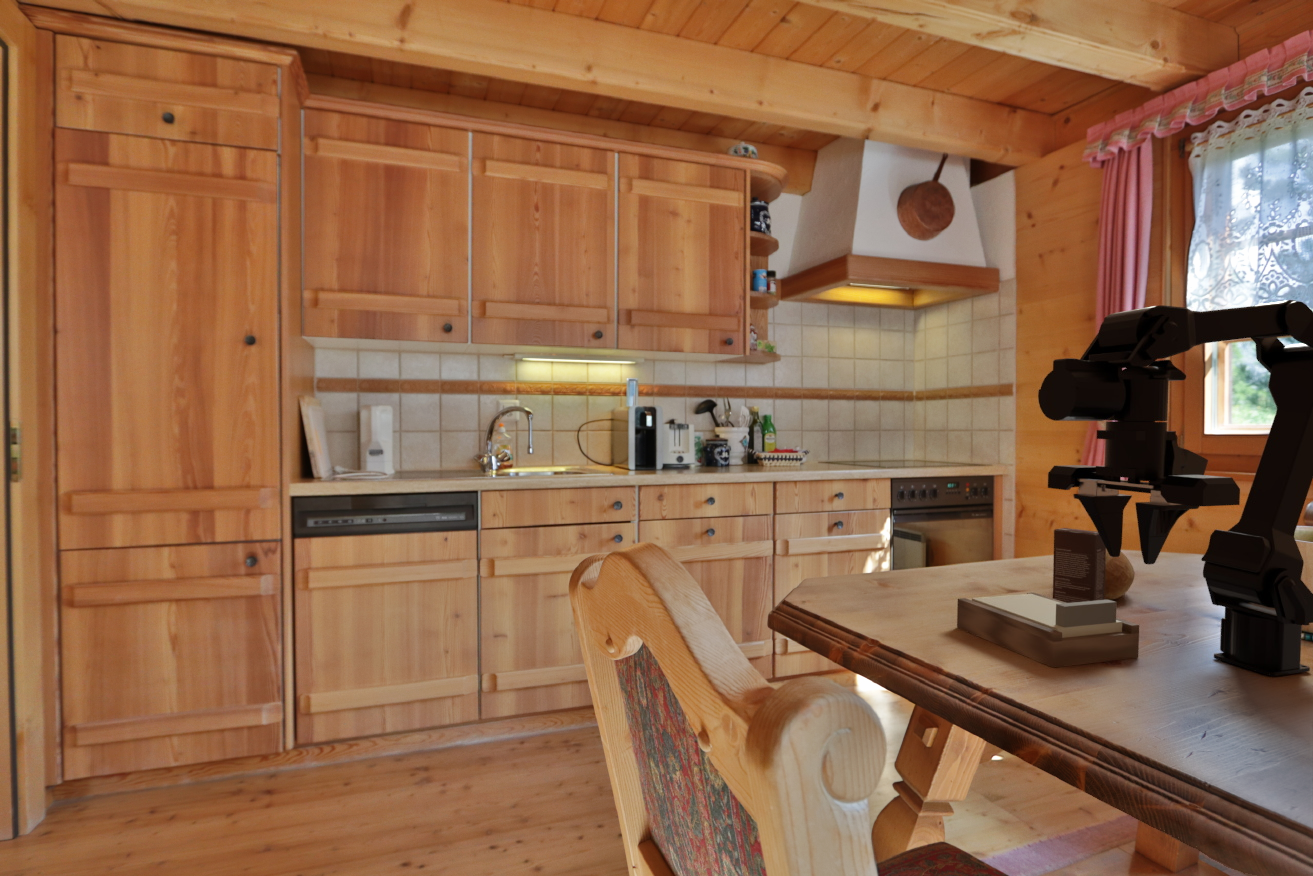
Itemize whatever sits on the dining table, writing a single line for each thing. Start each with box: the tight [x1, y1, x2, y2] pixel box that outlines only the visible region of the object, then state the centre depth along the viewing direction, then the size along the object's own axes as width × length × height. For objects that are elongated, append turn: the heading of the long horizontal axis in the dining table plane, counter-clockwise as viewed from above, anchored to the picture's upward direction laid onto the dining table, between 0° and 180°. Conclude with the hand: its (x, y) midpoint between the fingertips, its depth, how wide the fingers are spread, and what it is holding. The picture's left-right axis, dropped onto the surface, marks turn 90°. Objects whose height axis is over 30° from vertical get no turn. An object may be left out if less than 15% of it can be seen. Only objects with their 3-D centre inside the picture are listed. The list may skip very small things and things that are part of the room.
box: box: [1052, 527, 1106, 603], centre depth 107 cm, size 6×4×12 cm
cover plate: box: [971, 593, 1122, 638], centre depth 91 cm, size 14×10×4 cm
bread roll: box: [1105, 549, 1136, 600], centre depth 117 cm, size 10×15×8 cm, turn 153°
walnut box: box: [956, 592, 1140, 668], centre depth 91 cm, size 16×13×4 cm
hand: (1131, 560), depth 80 cm, fingers open, 4 cm apart
